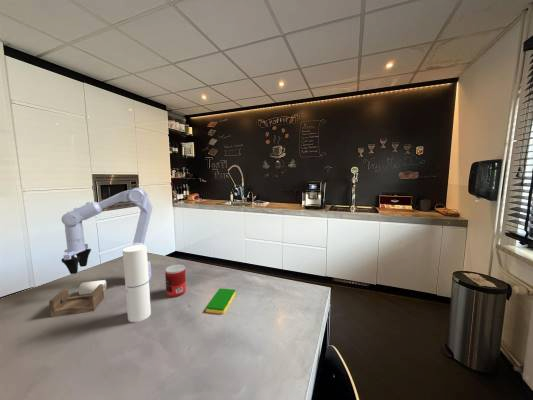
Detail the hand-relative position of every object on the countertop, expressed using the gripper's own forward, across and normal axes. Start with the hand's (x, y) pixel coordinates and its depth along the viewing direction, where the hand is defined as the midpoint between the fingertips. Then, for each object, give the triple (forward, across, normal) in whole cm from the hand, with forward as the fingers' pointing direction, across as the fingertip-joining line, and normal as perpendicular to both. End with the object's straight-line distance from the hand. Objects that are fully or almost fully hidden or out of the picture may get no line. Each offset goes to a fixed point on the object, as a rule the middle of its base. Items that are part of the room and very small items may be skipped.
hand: (78, 269), depth 95 cm
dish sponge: (+11, +26, +58) cm, 65 cm away
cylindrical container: (+10, +26, +29) cm, 40 cm away
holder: (+10, +14, +6) cm, 18 cm away
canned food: (+10, +13, +40) cm, 43 cm away
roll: (+7, +3, +6) cm, 10 cm away
